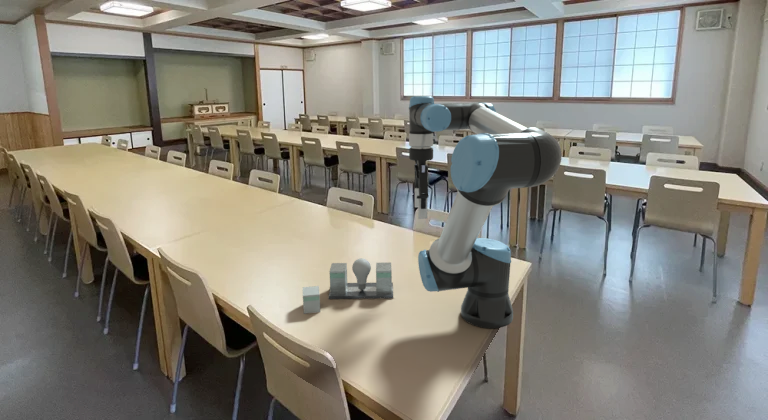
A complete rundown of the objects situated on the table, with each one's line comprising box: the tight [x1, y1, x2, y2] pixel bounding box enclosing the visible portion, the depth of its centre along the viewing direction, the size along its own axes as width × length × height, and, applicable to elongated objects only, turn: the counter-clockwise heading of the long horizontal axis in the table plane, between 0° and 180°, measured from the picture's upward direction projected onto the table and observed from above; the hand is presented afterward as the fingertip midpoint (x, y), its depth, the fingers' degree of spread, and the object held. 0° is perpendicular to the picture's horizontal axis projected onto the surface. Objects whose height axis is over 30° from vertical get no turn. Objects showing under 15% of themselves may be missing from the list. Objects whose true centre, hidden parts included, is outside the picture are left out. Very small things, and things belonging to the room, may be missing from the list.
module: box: [302, 285, 321, 314], centre depth 137 cm, size 6×5×6 cm
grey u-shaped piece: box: [328, 261, 394, 300], centre depth 148 cm, size 10×21×9 cm, turn 90°
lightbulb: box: [351, 258, 372, 290], centre depth 146 cm, size 6×6×11 cm
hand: (420, 212), depth 145 cm, fingers open, 13 cm apart
